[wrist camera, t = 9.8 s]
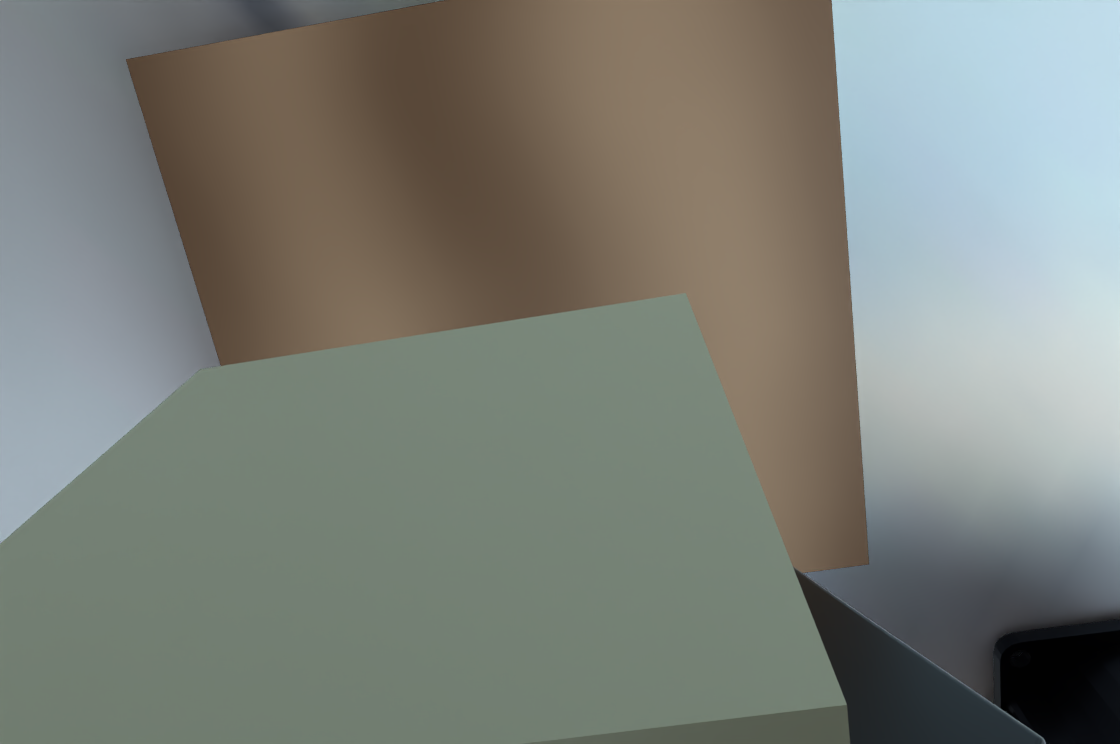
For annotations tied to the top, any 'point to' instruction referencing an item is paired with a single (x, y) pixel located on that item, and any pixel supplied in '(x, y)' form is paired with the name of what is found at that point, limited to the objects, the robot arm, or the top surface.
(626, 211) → the brown flat block
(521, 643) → the sage block
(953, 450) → the top surface
